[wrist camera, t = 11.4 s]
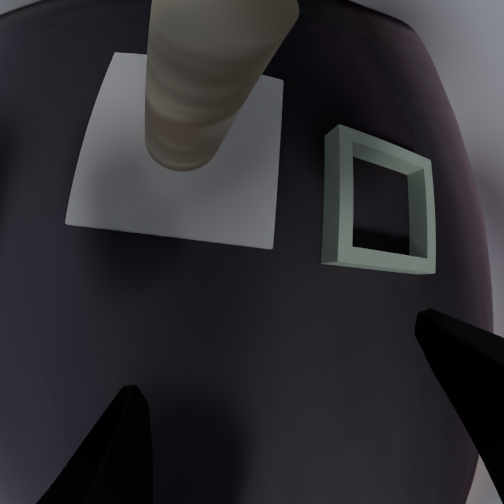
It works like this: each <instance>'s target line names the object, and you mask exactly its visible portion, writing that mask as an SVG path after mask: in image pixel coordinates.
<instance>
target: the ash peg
mask: <svg viewBox="0 0 504 504" xmlns="http://www.w3.org/2000/svg"><path fill="white" fill-rule="evenodd" d="M298 16H299V6H298V2H297V0H152V6H151V15H150V25H149V36H148V49H147V65H146V86H145V144H146V148H147V151H148V153H149V154H150V156H151V157H152V158H153V159H154V160H155V161H156V162H157V163H158V164H159V165H161V166H163V167H165V168H167V169H169V170H173V171H181V172H185V171H192V170H196V169H198V168H201V167H202V166H204V165H206V164H207V163H208V162H209V161H211V160H212V158H213V157H214V156H215V154H216V153H217V151H218V149H219V147H220V145H221V143H222V142H223V140H224V138H225V136H226V134H227V133H228V131H229V129H230V127H231V126H232V124H233V122H234V120H235V118H236V117H237V115H238V113H239V112H240V110H241V108H242V106H243V105H244V103H245V101H246V100H247V98H248V96H249V95H250V93H251V91H252V90H253V88H254V86H255V85H256V83H257V81H258V80H259V78H260V76H261V75H262V73H263V72H264V70H265V68H266V67H267V65H268V64H269V62H270V60H271V59H272V57H273V56H274V54H275V53H276V51H277V49H278V48H279V46H280V45H281V43H282V42H283V40H284V39H285V37H286V36H287V34H288V33H289V31H290V30H291V28H292V27H293V25H294V24H295V22H296V21H297V19H298Z"/></svg>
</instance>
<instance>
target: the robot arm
mask: <svg viewBox="0 0 504 504" xmlns="http://www.w3.org/2000/svg"><path fill="white" fill-rule="evenodd" d="M415 336H416V338H417V340H418V342H419V344H420V346H421V348H422V350H423V353H424V355H425V357H426V359H427V361H428V363H429V365H430V367H431V369H432V371H433V373H434V375H435V376H436V378H437V380H438V381H439V383H440V385H441V386H442V388H443V390H444V391H445V393H446V395H447V396H448V398H449V400H450V401H451V403H452V405H453V407H454V408H455V410H456V412H457V414H458V415H459V417H460V419H461V421H462V422H463V424H464V426H465V428H466V430H467V432H468V433H469V435H470V437H471V439H472V441H473V443H474V445H475V447H476V448H477V450H478V452H479V454H480V456H481V458H482V460H483V462H484V464H485V466H486V469H487V471H488V473H489V475H490V477H491V479H492V481H493V483H494V485H495V487H496V489H497V492H498V494H499V496H500V498H501V501H502V503H503V504H504V338H502V337H500V336H498V335H495V334H493V333H491V332H488V331H486V330H483V329H481V328H478V327H476V326H473V325H471V324H469V323H466V322H464V321H461V320H459V319H456V318H454V317H451V316H449V315H446V314H444V313H441V312H439V311H436V310H434V309H431V308H426V309H424V310H421V311H419V312H418V314H417V319H416V325H415ZM36 504H153V453H152V438H151V428H150V417H149V406H148V402H147V400H146V399H145V397H144V396H143V394H142V393H141V391H140V390H139V388H138V387H137V386H136V385H128V386H123V387H122V388H121V390H120V391H119V392H118V394H117V395H116V396H115V398H114V399H113V401H112V402H111V403H110V405H109V406H108V407H107V409H106V410H105V412H104V413H103V414H102V416H101V417H100V418H99V420H98V421H97V423H96V424H95V425H94V427H93V428H92V429H91V431H90V432H89V434H88V435H87V436H86V438H85V439H84V441H83V442H82V443H81V445H80V446H79V448H78V449H77V450H76V452H75V453H74V455H73V456H72V457H71V459H70V460H69V462H68V463H67V466H65V467H64V469H63V470H62V472H61V473H60V474H59V476H58V477H57V478H56V480H55V481H54V482H53V484H52V485H51V486H50V488H49V489H48V490H47V491H46V492H45V494H44V495H43V496H42V497H41V498H40V499H39V501H38V502H37V503H36Z"/></svg>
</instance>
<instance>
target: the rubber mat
mask: <svg viewBox="0 0 504 504" xmlns="http://www.w3.org/2000/svg"><path fill="white" fill-rule="evenodd" d="M146 65H147V55H144V54H132V53H116V52H115V54H114V56H113V58H112V61H111V63H110V66H109V68H108V70H107V73H106V75H105V78H104V81H103V83H102V86H101V89H100V91H99V94H98V97H97V100H96V103H95V105H94V108H93V111H92V114H91V118H90V121H89V124H88V127H87V130H86V134H85V137H84V141H83V144H82V148H81V151H80V155H79V159H78V163H77V167H76V171H75V175H74V180H73V184H72V189H71V194H70V199H69V204H68V209H67V215H66V221H65V224H67V225H73V226H82V227H90V228H99V229H107V230H116V231H124V232H132V233H141V234H149V235H158V236H166V237H174V238H182V239H191V240H199V241H207V242H215V243H223V244H232V245H240V246H248V247H256V248H264V249H273V240H274V226H275V212H276V198H277V183H278V168H279V152H280V135H281V118H282V99H283V80H280V79H277V78H273V77H269V76H265V75H261V76H260V78H259V80H258V81H257V83H256V85H255V86H254V88H253V90H252V91H251V93H250V95H249V96H248V98H247V100H246V101H245V103H244V105H243V106H242V108H241V110H240V112H239V113H238V115H237V117H236V118H235V120H234V122H233V124H232V126H231V127H230V129H229V131H228V133H227V134H226V136H225V138H224V140H223V142H222V143H221V145H220V147H219V149H218V151H217V153H216V154H215V156H214V157H213V158H212V160H211V161H209V162H208V163H207V164H206V165H204V166H202V167H201V168H198V169H196V170H192V171H185V172H181V171H173V170H169V169H167V168H165V167H163V166H161V165H159V164H158V163H157V162H156V161H155V160H154V159H153V158H152V157H151V156H150V154H149V153H148V151H147V148H146V144H145V86H146Z"/></svg>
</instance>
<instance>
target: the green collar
mask: <svg viewBox="0 0 504 504" xmlns="http://www.w3.org/2000/svg"><path fill="white" fill-rule="evenodd" d="M353 157H356V158H359V159H362V160H365V161H368V162H371V163H374V164H377V165H380V166H383V167H386V168H389V169H392V170H395V171H397V172H400V173H403V174H406V175H407V180H408V198H409V255H402V254H396V253H390V252H384V251H377V250H371V249H364V248H358V247H352V239H353ZM435 261H436V235H435V207H434V191H433V179H432V169H431V160H429V159H427V158H424V157H422V156H420V155H418V154H415V153H413V152H411V151H408V150H406V149H404V148H401V147H399V146H396V145H394V144H392V143H389V142H387V141H384V140H381V139H379V138H376V137H374V136H371V135H368V134H366V133H363V132H360V131H357V130H354V129H352V128H349V127H346V126H343V125H340V124H339V125H337V126H336V127H335V128H334V129H333V130H331V131H330V132H329V133H328V134H326V135H325V166H324V210H323V234H322V253H321V264H329V265H338V266H347V267H356V268H365V269H374V270H383V271H391V272H400V273H409V274H433V273H435Z"/></svg>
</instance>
